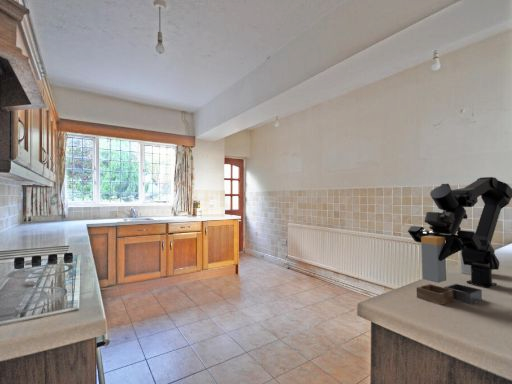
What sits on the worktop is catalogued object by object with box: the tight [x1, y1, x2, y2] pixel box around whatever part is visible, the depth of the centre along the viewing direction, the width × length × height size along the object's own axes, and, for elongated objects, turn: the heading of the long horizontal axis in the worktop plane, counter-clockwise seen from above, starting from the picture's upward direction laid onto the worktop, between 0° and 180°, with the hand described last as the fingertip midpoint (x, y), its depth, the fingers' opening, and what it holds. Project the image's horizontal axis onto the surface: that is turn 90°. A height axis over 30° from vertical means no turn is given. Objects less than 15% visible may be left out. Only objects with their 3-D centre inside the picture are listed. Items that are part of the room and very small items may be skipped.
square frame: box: [416, 283, 455, 306], centre depth 82 cm, size 7×7×3 cm
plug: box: [420, 236, 447, 284], centre depth 82 cm, size 4×4×13 cm
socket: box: [443, 283, 483, 305], centre depth 82 cm, size 7×7×3 cm
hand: (430, 258), depth 81 cm, fingers closed on plug, 4 cm apart
